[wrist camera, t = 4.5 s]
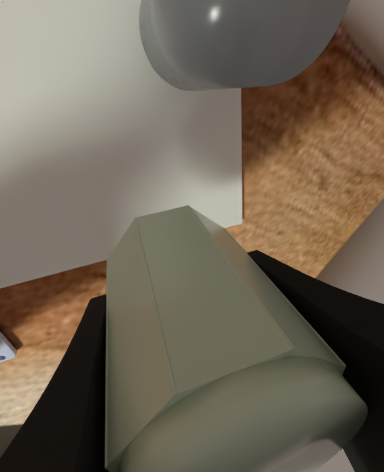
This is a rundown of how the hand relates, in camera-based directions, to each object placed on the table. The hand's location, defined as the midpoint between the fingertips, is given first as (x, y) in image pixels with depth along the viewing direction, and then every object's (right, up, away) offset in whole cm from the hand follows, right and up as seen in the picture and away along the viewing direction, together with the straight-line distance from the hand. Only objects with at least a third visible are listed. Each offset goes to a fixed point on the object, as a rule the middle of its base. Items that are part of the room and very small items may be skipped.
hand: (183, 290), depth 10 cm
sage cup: (-1, +1, +2) cm, 2 cm away
